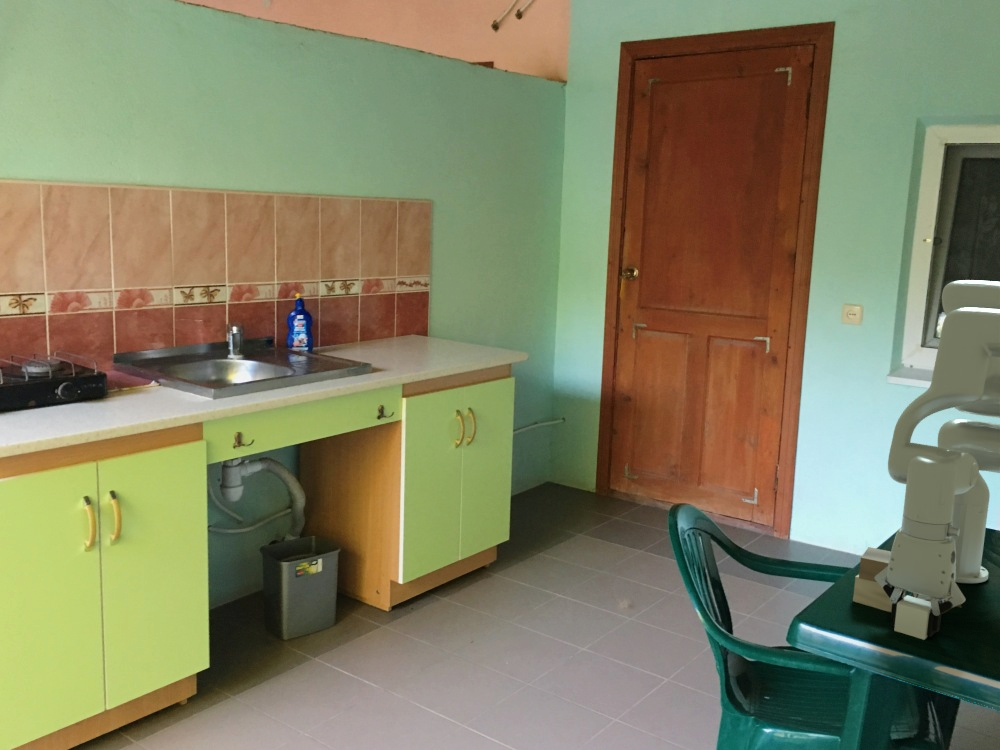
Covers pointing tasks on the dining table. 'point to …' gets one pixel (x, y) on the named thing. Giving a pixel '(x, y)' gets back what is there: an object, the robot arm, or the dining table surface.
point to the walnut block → (873, 563)
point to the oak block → (871, 594)
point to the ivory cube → (913, 616)
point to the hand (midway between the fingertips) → (914, 627)
